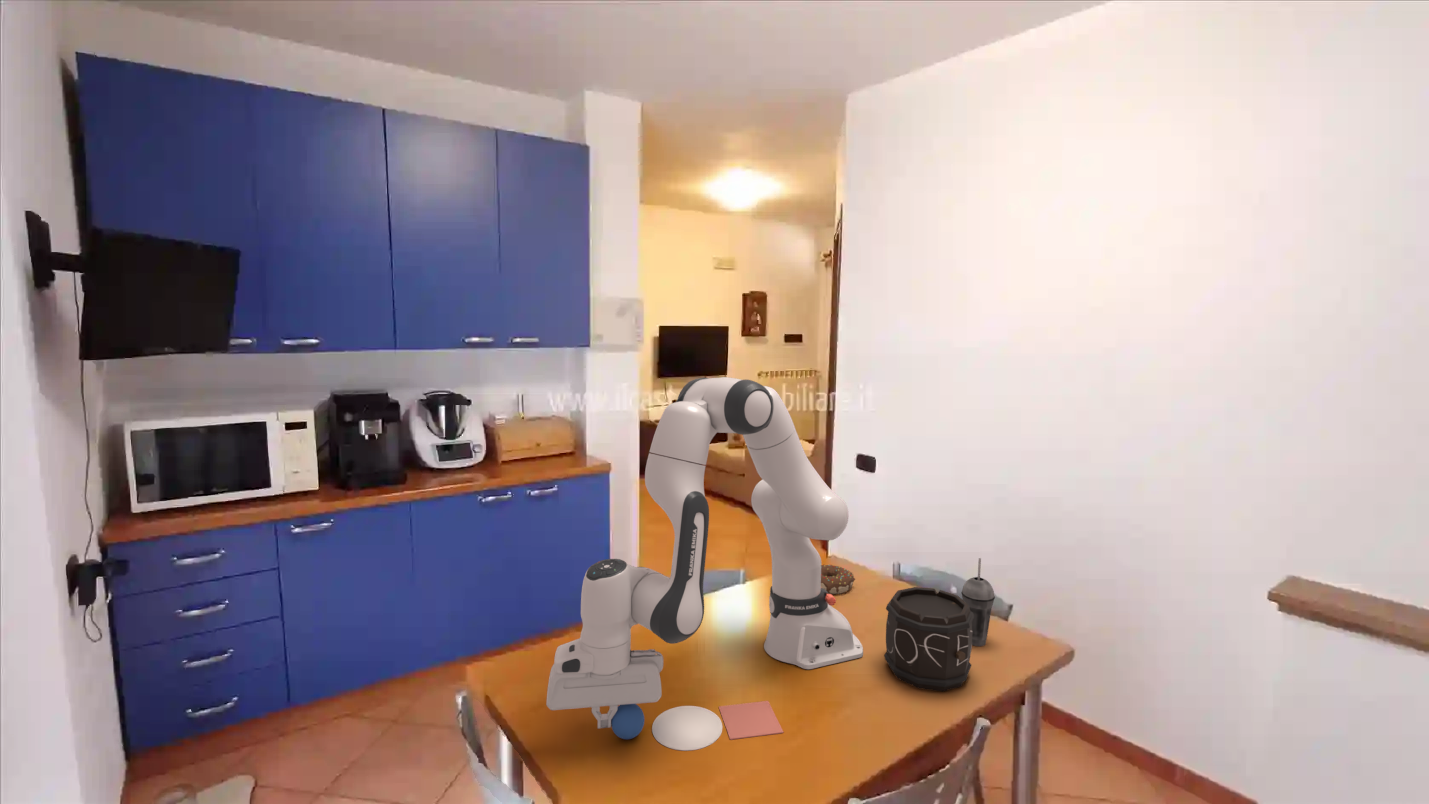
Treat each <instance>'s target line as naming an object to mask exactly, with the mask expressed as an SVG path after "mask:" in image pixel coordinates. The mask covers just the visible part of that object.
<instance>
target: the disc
mask: <svg viewBox="0 0 1429 804" xmlns="http://www.w3.org/2000/svg"><path fill="white" fill-rule="evenodd" d="M651 732H652V734H653V737H654V739H655V740H656V741H657V742H658V743H659V744H660V745H662V746H664V747H666V748H668V749H671V750H676V751H681V752H682V751H684V752H685V751H686V752H687V751H688V752H689V751H696V750H697V751H698V750H701V749H704V748H706V747H709V746H710V745H712V744H714V743H715V742H716V741H717V740H718V739H719V738H720V737H721V735H722V733H723V722H722V720H721V718H720V717H719V715H717V714H716V713H715V712H713V711H711V710H710V709H707V708H705V707H701V706H695V705H681V706H675V707H673V708H669V709H667V710H665V711H662V713H660V714H659V715H658V716H657V717H656V718H655V719H654V721H653V723H652V727H651Z"/></svg>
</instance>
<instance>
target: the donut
mask: <svg viewBox="0 0 1429 804" xmlns="http://www.w3.org/2000/svg"><path fill="white" fill-rule="evenodd" d="M855 580H856V578H855V577H854V574H853V572H851V571H850V570H848V569H846V568H845V567H842V566H839V565H833V564H829V563H828V564H823V565H822V564H821V587H822V588H823V589H825V590H826V591H827V592H828V594H831V595H838V594H839V595H840V594H844V593H846V592H848V591H850V589H852V587H853V584H854V582H855Z"/></svg>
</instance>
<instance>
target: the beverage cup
mask: <svg viewBox="0 0 1429 804" xmlns="http://www.w3.org/2000/svg"><path fill="white" fill-rule="evenodd" d="M981 562H982V558H981V557H980V558H978V564H977V565H978V566H977V576H975V577H973V576H972V577H971V578H969V579H967V580H966V581H965V583H964V585H963V586H962V590H961V597H962V598H961V599H962V600H963V601H964V602H966V603H967V604H968V605H969V607H970V611H971V612H973V614H974V618H973V621H972V646H975V647H983V646H986V644H987V638H988V634H989V628H990V627H989V626H990V621H991V616H992V615H991V613H992V608H993V605H994V602H995V601H994V600H995V598H996V597H995V591H994V589H993V586H992V584H991V583H990V582H989V581H988V580H987V579H985V578H982V577H981V570H982V569H981V565H982V563H981Z"/></svg>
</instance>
